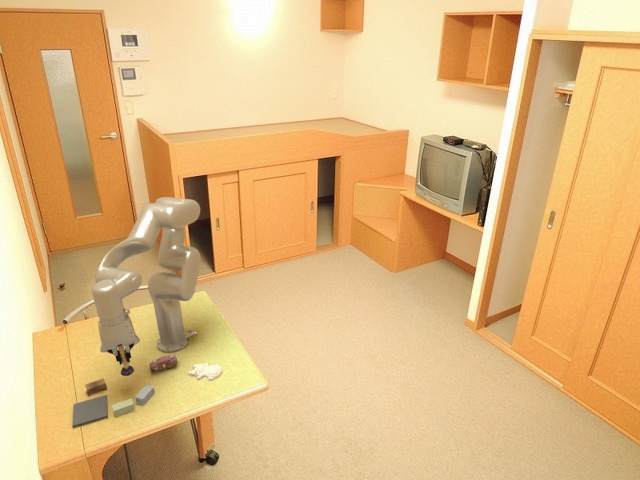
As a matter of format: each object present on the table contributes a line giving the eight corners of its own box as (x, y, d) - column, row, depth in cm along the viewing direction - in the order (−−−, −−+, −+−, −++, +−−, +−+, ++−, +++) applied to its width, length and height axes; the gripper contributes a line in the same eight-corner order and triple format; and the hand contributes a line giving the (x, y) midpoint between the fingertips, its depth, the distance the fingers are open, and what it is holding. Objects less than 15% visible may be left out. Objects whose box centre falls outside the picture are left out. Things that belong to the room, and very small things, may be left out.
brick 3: (147, 391, 154) (146, 384, 153) (155, 393, 153) (153, 386, 152) (136, 404, 149) (135, 397, 147) (144, 405, 148) (142, 399, 147)
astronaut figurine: (197, 362, 168) (196, 356, 167) (226, 368, 165) (225, 361, 164) (185, 378, 160) (184, 371, 159) (215, 384, 158) (214, 377, 156)
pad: (106, 397, 151) (106, 394, 151) (107, 417, 143) (107, 415, 142) (74, 406, 147) (73, 403, 147) (73, 428, 139) (72, 425, 139)
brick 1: (105, 384, 157) (103, 378, 156) (107, 389, 155) (105, 383, 153) (86, 391, 154) (84, 384, 152) (88, 396, 151) (86, 390, 150)
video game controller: (151, 376, 163) (150, 368, 158) (149, 365, 165) (147, 357, 160) (179, 368, 167) (178, 359, 162) (176, 357, 169) (175, 348, 164)
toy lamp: (119, 378, 148) (109, 338, 140) (118, 368, 152) (109, 330, 144) (134, 374, 150) (125, 335, 142) (133, 365, 153) (125, 326, 146)
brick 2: (133, 404, 148) (131, 398, 147) (134, 410, 146) (133, 404, 145) (113, 411, 146) (112, 404, 144) (115, 417, 143) (113, 411, 142)
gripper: (138, 304, 146) (148, 347, 155) (85, 316, 140) (98, 360, 149) (140, 316, 140) (150, 360, 149) (85, 330, 134) (99, 375, 143)
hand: (124, 360), depth 149 cm, fingers closed on toy lamp
